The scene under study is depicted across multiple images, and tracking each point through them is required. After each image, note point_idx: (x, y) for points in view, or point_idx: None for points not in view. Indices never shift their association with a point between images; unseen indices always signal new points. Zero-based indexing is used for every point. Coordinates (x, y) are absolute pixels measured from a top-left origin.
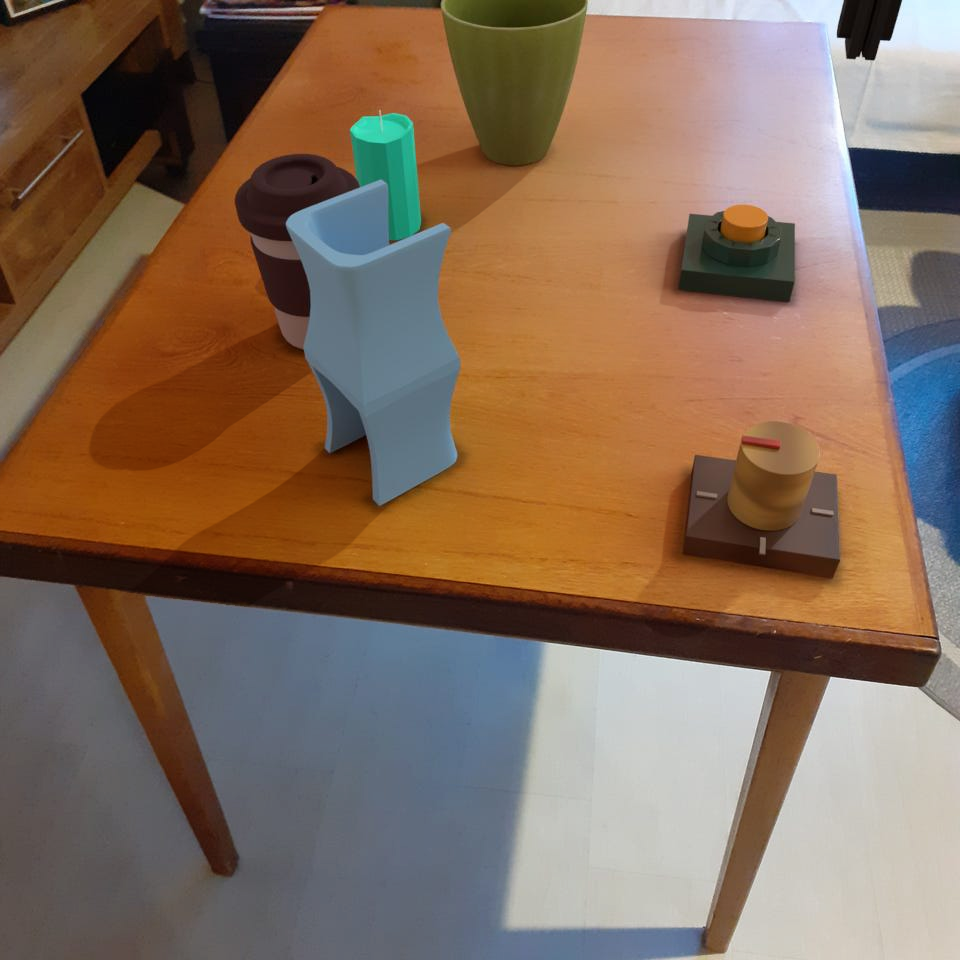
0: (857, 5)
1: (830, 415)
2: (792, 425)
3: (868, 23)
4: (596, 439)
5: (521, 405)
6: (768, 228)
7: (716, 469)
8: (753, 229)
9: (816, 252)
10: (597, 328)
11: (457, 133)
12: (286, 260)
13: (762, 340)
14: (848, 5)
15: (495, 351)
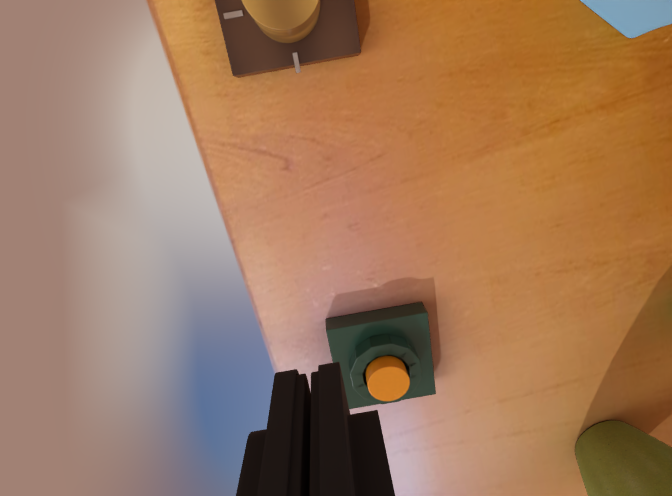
0: (357, 479)
1: (260, 182)
2: (275, 27)
3: (310, 429)
4: (450, 68)
5: (528, 89)
6: (364, 383)
7: (337, 38)
8: (377, 368)
9: None
10: (481, 224)
11: None
12: None
13: (336, 260)
14: (382, 473)
15: (567, 157)
